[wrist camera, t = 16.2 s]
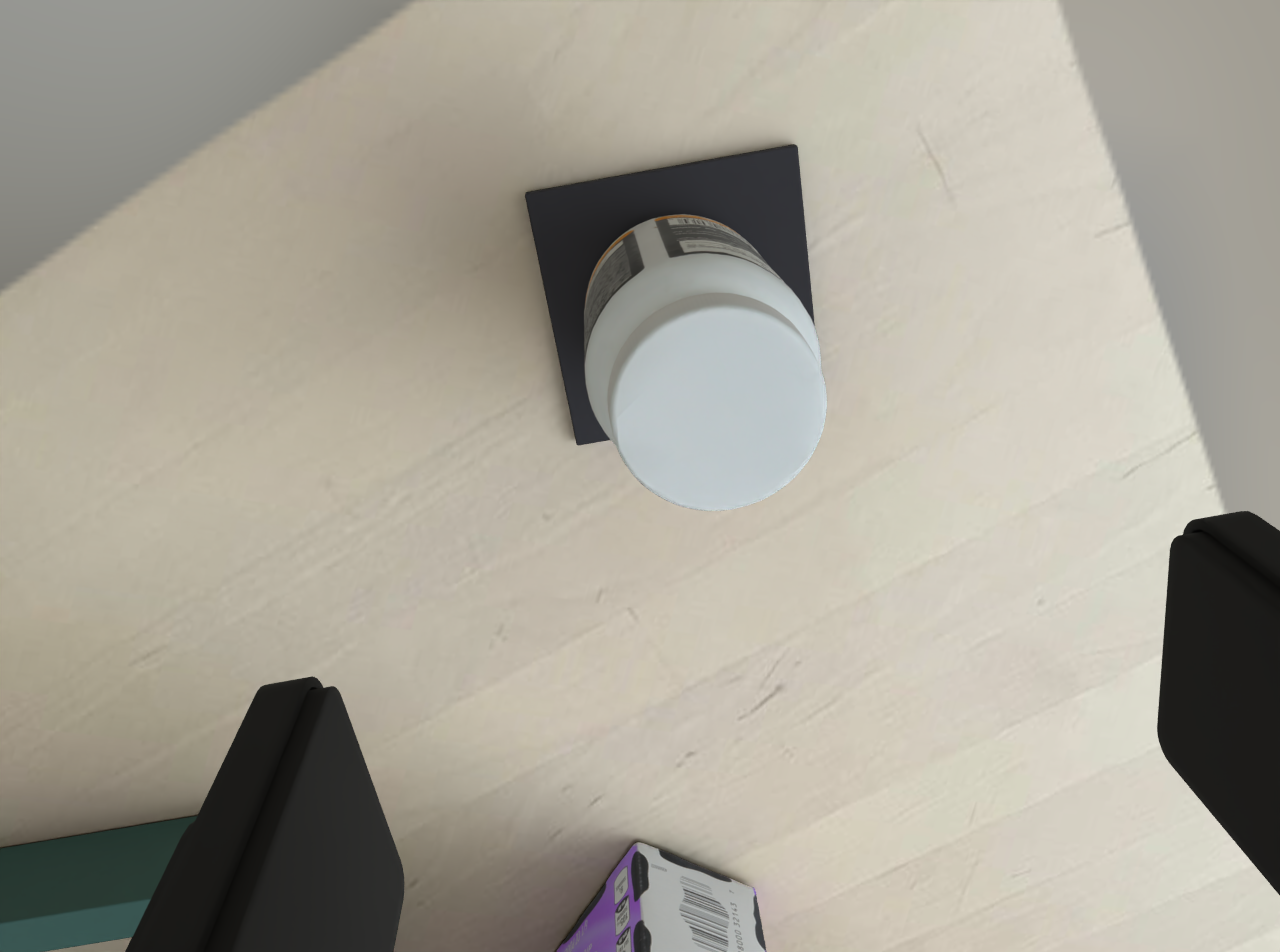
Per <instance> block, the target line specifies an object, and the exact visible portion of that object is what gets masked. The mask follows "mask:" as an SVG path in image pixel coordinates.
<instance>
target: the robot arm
mask: <svg viewBox="0 0 1280 952" xmlns="http://www.w3.org/2000/svg"><path fill="white" fill-rule="evenodd" d="M1157 732H1158V738H1159V743H1160V745H1161V748H1162V751H1163V753H1164V755H1165V757H1166V759H1167V760H1168V761H1169V763H1170V764H1171V765H1172V767H1173V768H1174V769H1175V770H1176V771H1177V773H1178V774H1179V775H1180V776H1181V777H1182V779H1183V780H1184V781H1185V782H1186V783H1187V785H1188V786H1189V787H1190V788H1191V789H1192V791H1193V792H1194V793H1195V794H1196V795H1197V797H1198V798H1199V799H1200V800H1201V801H1202V803H1203V804H1204V805H1205V806H1206V807H1207V809H1208V810H1209V811H1210V812H1211V813H1212V815H1213V816H1214V817H1215V818H1216V819H1217V821H1218V822H1219V823H1220V824H1221V825H1222V827H1223V828H1224V829H1225V830H1226V831H1227V833H1228V834H1229V835H1230V836H1231V837H1232V839H1233V840H1234V841H1235V842H1236V843H1237V845H1238V846H1239V847H1240V848H1241V849H1242V851H1243V852H1244V853H1245V854H1246V855H1247V857H1248V858H1249V859H1250V860H1251V861H1252V863H1253V864H1254V865H1255V866H1256V867H1257V869H1258V870H1259V871H1260V872H1261V873H1262V875H1263V876H1264V877H1265V878H1266V879H1267V881H1268V882H1269V883H1270V884H1271V885H1272V887H1273V888H1274V889H1275V890H1276V891H1277V893H1278V894H1279V895H1280V531H1279V530H1277V529H1276V528H1275V527H1273V526H1272V525H1270V524H1269V523H1267V522H1266V521H1264V520H1263V519H1262V518H1260V517H1259V516H1257V515H1255V514H1253V513H1251V512H1249V511H1241V512H1235V513H1229V514H1223V515H1218V516H1212V517H1207V518H1201V519H1195V520H1192V521H1191V522H1189V523H1188V524H1187V526H1186V528H1185V529H1184V533H1183V535H1180V536H1177V537H1176V538H1174V540H1173V542H1172V543H1171V548H1170V558H1169V572H1168V586H1167V599H1166V613H1165V627H1164V641H1163V655H1162V669H1161V682H1160V696H1159V710H1158V724H1157ZM403 898H404V874H403V868H402V864H401V860H400V857H399V855H398V852H397V849H396V846H395V844H394V841H393V838H392V835H391V832H390V830H389V827H388V824H387V821H386V819H385V816H384V813H383V810H382V807H381V805H380V802H379V799H378V796H377V794H376V791H375V788H374V785H373V783H372V780H371V777H370V774H369V771H368V769H367V766H366V763H365V760H364V758H363V755H362V752H361V749H360V747H359V744H358V741H357V738H356V735H355V733H354V730H353V727H352V724H351V722H350V719H349V716H348V713H347V710H346V708H345V705H344V702H343V699H342V697H341V695H340V692H339V691H338V690H337V688H336V687H333V686H331V687H326V688H323V686H322V684H321V683H320V681H319V680H318V679H317V678H315V677H307V678H302V679H296V680H290V681H285V682H279V683H274V684H268V685H264V686H262V687H260V689H259V690H258V691H257V693H256V695H255V697H254V699H253V701H252V703H251V705H250V707H249V709H248V711H247V714H246V716H245V718H244V720H243V722H242V724H241V726H240V728H239V730H238V732H237V734H236V737H235V739H234V741H233V743H232V745H231V747H230V749H229V751H228V753H227V755H226V757H225V760H224V762H223V764H222V766H221V768H220V770H219V772H218V774H217V776H216V778H215V780H214V783H213V785H212V787H211V789H210V791H209V793H208V795H207V797H206V799H205V801H204V803H203V806H202V808H201V810H200V812H199V814H198V816H197V818H196V820H195V821H194V822H192V823H191V824H189V826H188V827H187V829H186V830H185V832H184V833H183V835H182V836H181V838H180V840H179V842H178V844H177V846H176V849H175V851H174V853H173V855H172V857H171V859H170V861H169V863H168V865H167V867H166V869H165V871H164V873H163V875H162V877H161V879H160V881H159V883H158V886H157V888H156V890H155V892H154V894H153V896H152V898H151V900H150V902H149V904H148V906H147V908H146V910H145V912H144V914H143V916H142V918H141V920H140V923H139V925H138V927H137V929H136V931H135V933H134V935H133V937H132V939H131V941H130V943H129V945H128V947H127V949H126V951H125V952H393V950H394V945H395V940H396V935H397V930H398V924H399V919H400V914H401V909H402V904H403Z"/></svg>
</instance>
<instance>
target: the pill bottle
mask: <svg viewBox="0 0 1280 952" xmlns="http://www.w3.org/2000/svg"><path fill="white" fill-rule="evenodd" d="M584 352H585V358H584V368H585V381H586V387H587V393H588V397H589V401H590V404H591V407H592V410H593V412H594V414H595V416H596V418H597V420H598V422H599V424H600V425H601V427H602V429H603V430H604V432H605V433H606V435H607V436H608V437H609V438H610V440H611V441H612V442H613V443H614V444H615V445H616V447H617V449H618V451H619V454H620V456H621V458H622V459H623V461H624V463H625V465H626V466H627V467H628V469H629V470H630V471H631V473H632V474H633V475H634V476H635V477H636V479H637V480H638V481H639V482H640V483H641V484H642V485H644V486H645V487H646V488H647V489H649V490H650V491H652V492H653V493H654V494H656V495H658V496H659V497H661V498H663V499H665V500H667V501H669V502H671V503H673V504H676V505H679V506H682V507H686V508H690V509H695V510H704V511H722V510H731V509H736V508H740V507H744V506H747V505H750V504H753V503H756V502H758V501H761V500H763V499H765V498H767V497H769V496H771V495H772V494H774V493H776V492H777V491H779V490H780V489H782V488H783V487H784V486H785V485H787V484H788V483H789V482H790V481H791V480H792V479H794V478H795V476H796V475H797V474H798V473H799V472H800V471H801V470H802V468H803V467H804V466H805V465H806V464H807V462H808V461H809V459H810V457H811V456H812V454H813V452H814V450H815V449H816V447H817V444H818V442H819V439H820V437H821V434H822V431H823V428H824V423H825V418H826V410H827V396H826V386H825V381H824V377H823V374H822V371H821V355H820V347H819V341H818V337H817V333H816V329H815V326H814V324H813V321H812V319H811V317H810V316H809V314H808V313H807V311H806V309H805V308H804V306H803V305H802V303H801V301H800V300H799V298H798V297H797V296H796V294H795V293H794V292H793V291H792V289H791V288H790V287H789V286H788V285H787V284H786V283H784V281H783V280H782V279H781V278H780V277H779V276H778V275H777V274H776V273H775V272H774V271H773V270H772V269H771V267H770V266H769V265H768V264H767V262H766V261H765V260H764V259H763V258H762V257H761V256H760V254H759V253H758V252H757V251H756V250H755V248H754V247H753V246H752V245H751V244H750V243H748V242H747V241H746V240H745V239H744V238H743V237H742V236H740V235H739V234H738V233H736V232H735V231H734V230H732V229H730V228H729V227H727V226H725V225H724V224H722V223H719V222H717V221H714V220H711V219H708V218H704V217H700V216H695V215H685V214H680V215H669V216H663V217H658V218H653V219H650V220H648V221H645V222H643V223H641V224H638V225H637V226H635V227H633V228H631V229H629V230H628V231H627V232H625V233H624V234H622V235H621V236H620V237H619V238H618V239H617V240H615V241H614V242H613V243H612V244H611V245H610V247H609V248H608V249H607V250H606V251H605V253H604V254H603V255H602V257H601V258H600V260H599V261H598V263H597V265H596V267H595V269H594V271H593V273H592V276H591V279H590V282H589V285H588V290H587V294H586V300H585V310H584Z"/></svg>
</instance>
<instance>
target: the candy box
mask: <svg viewBox="0 0 1280 952" xmlns="http://www.w3.org/2000/svg"><path fill="white" fill-rule="evenodd" d="M556 952H766V947H765V941H764V936H763V930H762V924H761V919H760V914H759V907H758V903H757V897H756V891H755V889H754V888H753V887H749V886H747V885H744V884H742V883H739V882H737V881H735V880H733V879H731V878H729V877H726V876H724V875H721V874H718V873H715V872H713V871H710V870H707V869H705V868H702V867H700V866H698V865H695V864H693V863H690V862H688V861H686V860H684V859H682V858H679V857H677V856H675V855H673V854H670V853H668V852H665V851H663V850H660V849H657V848H654V847H652V846H650V845H647V844H644V843H641V842H637V843H635V844H634V845H633V846H632V847H631V849H630V850H629V851H628V853H627V854H626V855H625V856H624V858H623V859H622V860H621V861H620V863H619V864H618V866H617V867H616V868H615V870H614V871H613V872H612V874H611V875H610V877H609V878H608V880H607V881H606V883H605V885H604V886H603V887H602V889H601V890H600V892H599V893H598V894H597V896H596V897H595V898H594V900H593V901H592V902H591V903H590V905H589V906H588V908H587V909H586V910H585V912H584V913H583V915H582V916H581V917H580V919H579V920H578V922H577V924H576V925H575V927H574V928H573V929H572V931H571V932H570V933H569V935H568V936H567V937H566V939H565V940H564V942H563V943H562V944H561V946H560V947H559V948H558V950H557V951H556Z"/></svg>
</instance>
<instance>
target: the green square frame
mask: <svg viewBox="0 0 1280 952" xmlns="http://www.w3.org/2000/svg"><path fill="white" fill-rule="evenodd" d="M196 818H197V816H193V817H187V818H181V819H175V820H169V821H163V822H157V823H151V824H145V825H139V826H133V827H127V828H121V829H115V830H109V831H103V832H97V833H91V834H85V835H79V836H73V837H67V838H61V839H55V840H49V841H43V842H37V843H31V844H25V845H19V846H13V847H6V848H0V952H44V951H50V950H56V949H62V948H68V947H74V946H81V945H87V944H93V943H99V942H105V941H111V940H117V939H123V938H130V937H133V935H134V933H135V931H136V929H137V927H138V925H139V923H140V920H141V918H142V916H143V914H144V912H145V910H146V908H147V906H148V904H149V902H150V900H151V898H152V896H153V894H154V892H155V890H156V888H157V886H158V883H159V881H160V879H161V877H162V875H163V873H164V871H165V869H166V867H167V865H168V863H169V861H170V859H171V857H172V855H173V853H174V851H175V849H176V846H177V844H178V842H179V840H180V838H181V836H182V835H183V833H184V832H185V830H186V829H187V827H188V826H189V824H191V823H192V822H194V821H195V820H196Z"/></svg>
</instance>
